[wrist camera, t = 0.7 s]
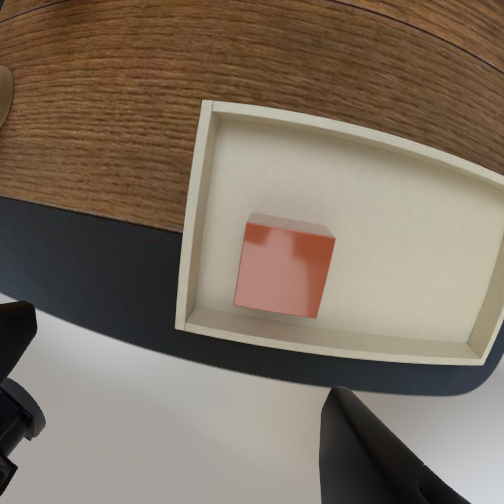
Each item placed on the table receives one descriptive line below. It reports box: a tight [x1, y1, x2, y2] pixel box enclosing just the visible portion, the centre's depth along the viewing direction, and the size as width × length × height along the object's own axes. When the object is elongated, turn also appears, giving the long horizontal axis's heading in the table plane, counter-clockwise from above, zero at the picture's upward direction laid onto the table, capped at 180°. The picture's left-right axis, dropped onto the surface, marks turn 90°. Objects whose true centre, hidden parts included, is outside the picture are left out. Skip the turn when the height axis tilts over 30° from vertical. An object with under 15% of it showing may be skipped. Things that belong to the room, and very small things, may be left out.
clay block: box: [233, 213, 336, 319], centre depth 18 cm, size 4×4×4 cm
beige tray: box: [175, 100, 504, 365], centre depth 18 cm, size 22×13×3 cm, turn 81°
